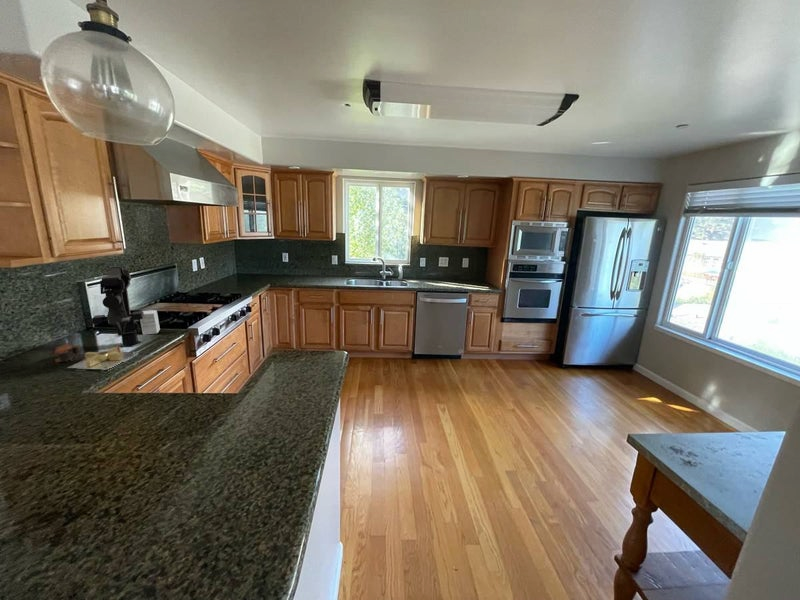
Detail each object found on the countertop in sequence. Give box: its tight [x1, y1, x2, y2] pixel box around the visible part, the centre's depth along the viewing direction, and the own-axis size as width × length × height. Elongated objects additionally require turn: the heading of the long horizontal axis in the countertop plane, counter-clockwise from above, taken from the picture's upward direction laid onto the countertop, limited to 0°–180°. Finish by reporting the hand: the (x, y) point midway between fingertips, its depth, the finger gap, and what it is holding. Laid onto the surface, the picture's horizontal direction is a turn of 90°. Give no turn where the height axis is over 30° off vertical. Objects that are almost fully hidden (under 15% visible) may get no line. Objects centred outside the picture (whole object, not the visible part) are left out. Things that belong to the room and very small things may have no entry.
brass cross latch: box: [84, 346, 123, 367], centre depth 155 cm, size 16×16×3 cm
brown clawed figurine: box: [49, 344, 83, 363], centre depth 158 cm, size 12×10×8 cm
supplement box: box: [139, 309, 161, 336], centre depth 194 cm, size 7×7×13 cm
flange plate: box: [66, 351, 139, 369], centre depth 156 cm, size 18×18×2 cm
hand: (122, 334), depth 159 cm, fingers closed
